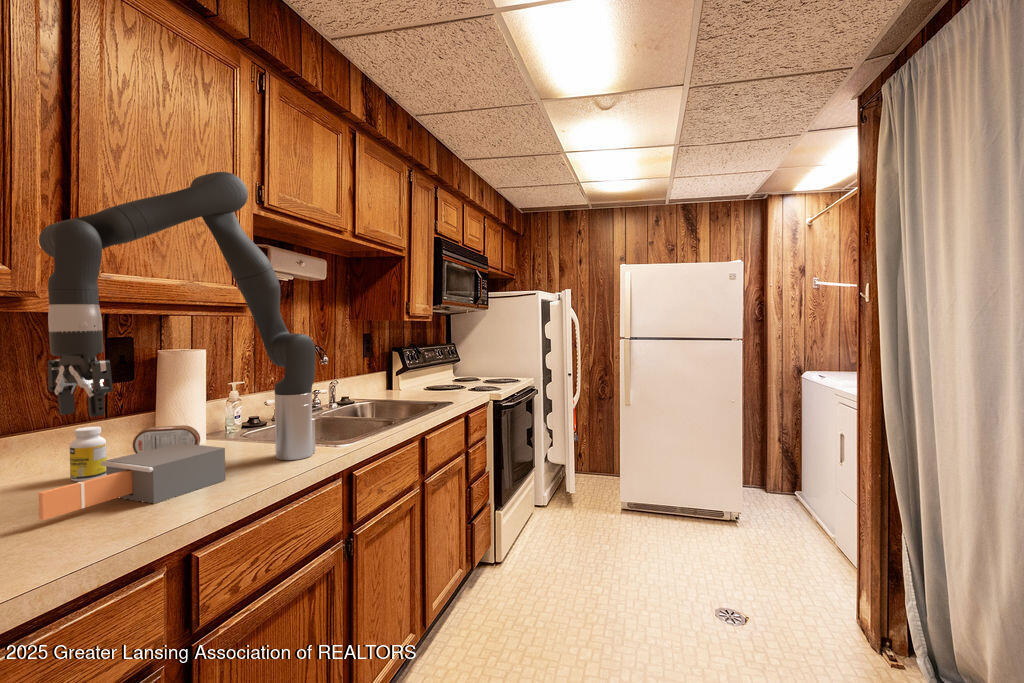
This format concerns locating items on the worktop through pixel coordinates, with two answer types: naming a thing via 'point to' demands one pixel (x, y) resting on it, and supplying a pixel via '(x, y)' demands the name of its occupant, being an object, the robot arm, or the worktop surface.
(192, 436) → the tin
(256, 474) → the worktop surface
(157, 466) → the dispenser
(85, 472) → the pill bottle
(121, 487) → the ticket
